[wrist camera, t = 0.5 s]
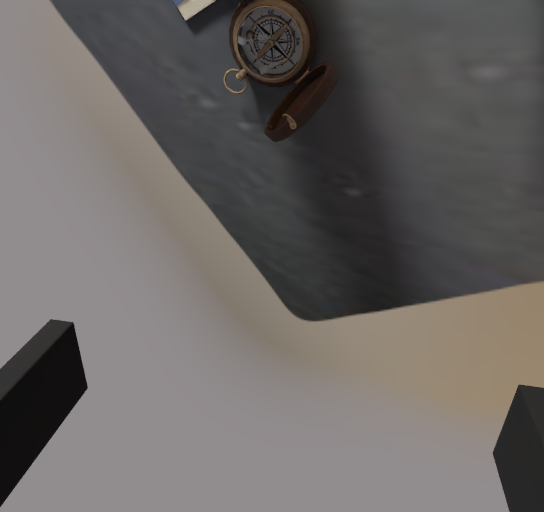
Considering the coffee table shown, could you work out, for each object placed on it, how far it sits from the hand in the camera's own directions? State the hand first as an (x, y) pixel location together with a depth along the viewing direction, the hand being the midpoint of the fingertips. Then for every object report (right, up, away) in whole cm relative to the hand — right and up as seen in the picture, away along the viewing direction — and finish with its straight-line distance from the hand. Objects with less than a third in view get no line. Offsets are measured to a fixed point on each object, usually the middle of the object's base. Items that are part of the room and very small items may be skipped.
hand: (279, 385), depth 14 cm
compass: (0, +18, +19) cm, 27 cm away
